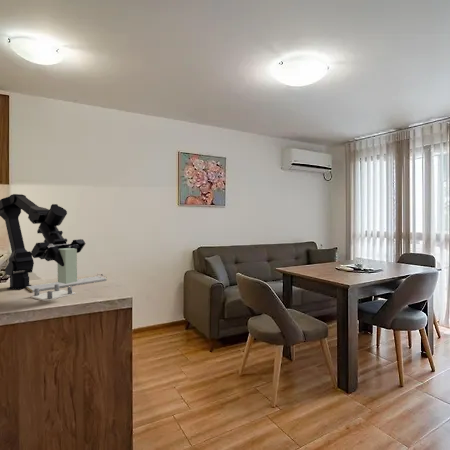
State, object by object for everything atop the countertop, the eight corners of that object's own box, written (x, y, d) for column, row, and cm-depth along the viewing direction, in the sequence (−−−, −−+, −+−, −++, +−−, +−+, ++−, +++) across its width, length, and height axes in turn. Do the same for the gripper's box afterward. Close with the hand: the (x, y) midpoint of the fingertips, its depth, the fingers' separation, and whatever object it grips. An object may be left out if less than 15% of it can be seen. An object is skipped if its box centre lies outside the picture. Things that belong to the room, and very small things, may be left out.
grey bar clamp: (25, 288, 132) (32, 294, 124) (24, 282, 132) (32, 286, 124) (96, 278, 154) (106, 281, 146) (96, 272, 154) (106, 275, 146)
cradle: (30, 297, 116) (30, 289, 116) (60, 290, 127) (60, 283, 127) (45, 301, 111) (45, 293, 111) (75, 293, 122) (75, 286, 122)
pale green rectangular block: (57, 282, 114) (57, 249, 113) (69, 279, 118) (68, 247, 117) (65, 283, 111) (65, 250, 111) (77, 281, 115) (76, 248, 115)
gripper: (65, 245, 130) (82, 273, 125) (18, 250, 113) (35, 282, 109) (77, 227, 126) (94, 256, 121) (29, 229, 109) (48, 262, 104)
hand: (69, 264), depth 114 cm, fingers closed on pale green rectangular block, 4 cm apart
